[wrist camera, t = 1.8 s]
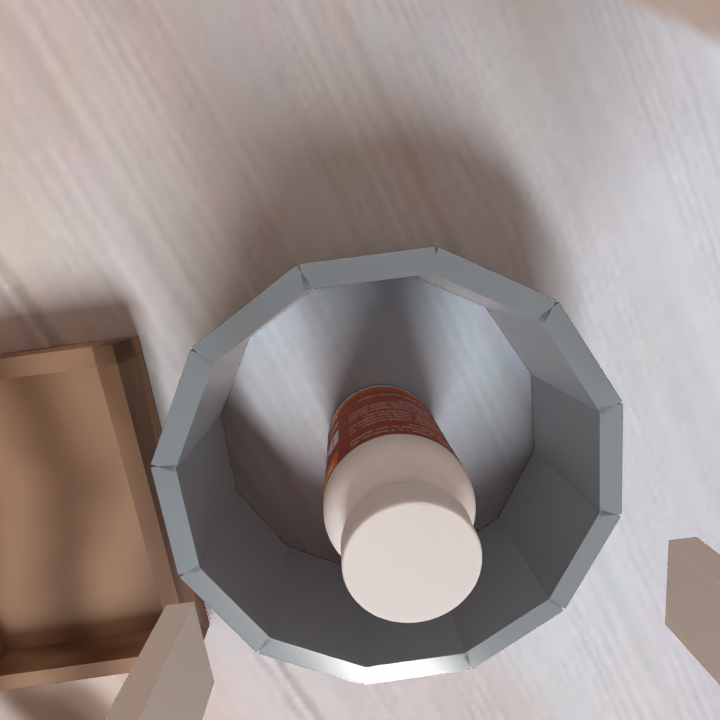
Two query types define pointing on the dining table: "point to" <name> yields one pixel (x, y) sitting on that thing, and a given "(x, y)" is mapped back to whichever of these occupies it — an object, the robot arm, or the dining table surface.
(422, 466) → the pill bottle
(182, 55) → the dining table surface
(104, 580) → the tray
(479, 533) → the grey ringed piece
